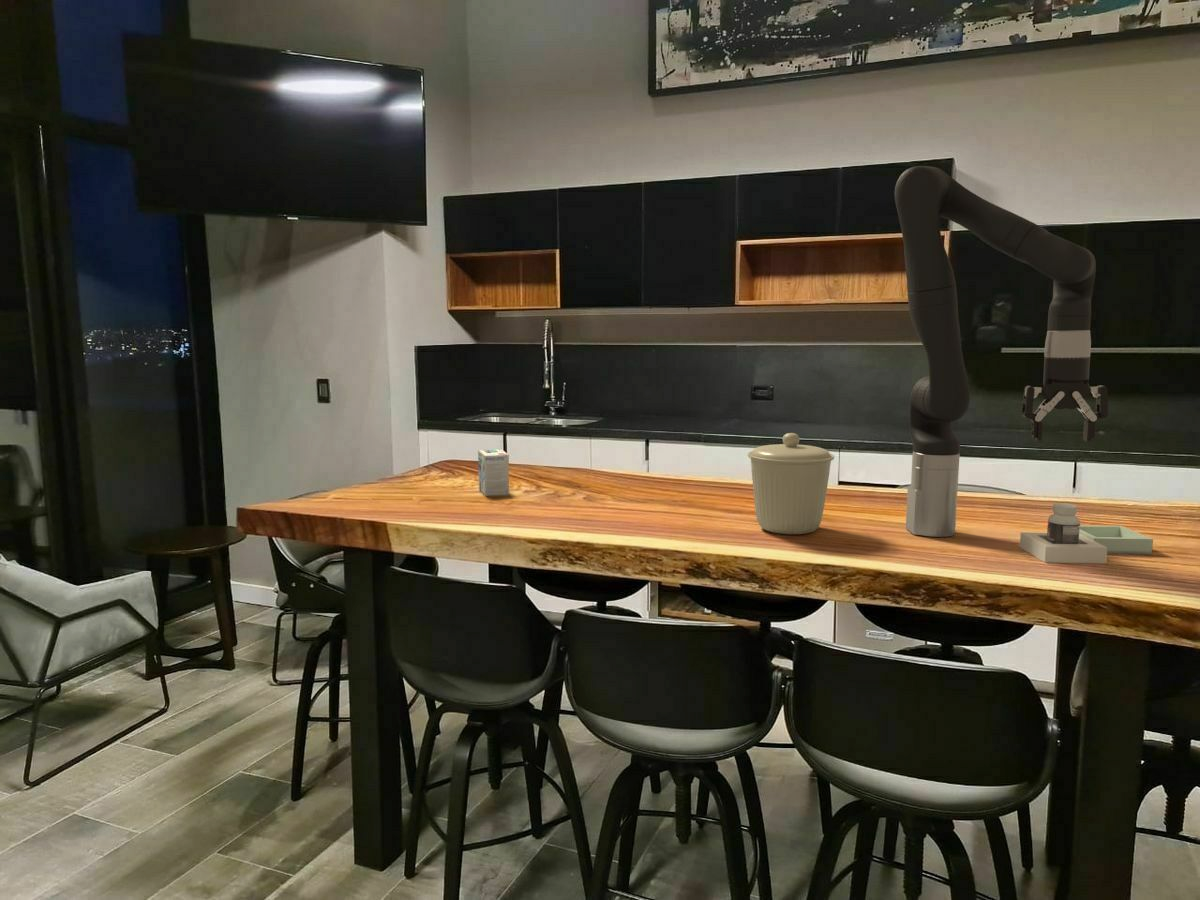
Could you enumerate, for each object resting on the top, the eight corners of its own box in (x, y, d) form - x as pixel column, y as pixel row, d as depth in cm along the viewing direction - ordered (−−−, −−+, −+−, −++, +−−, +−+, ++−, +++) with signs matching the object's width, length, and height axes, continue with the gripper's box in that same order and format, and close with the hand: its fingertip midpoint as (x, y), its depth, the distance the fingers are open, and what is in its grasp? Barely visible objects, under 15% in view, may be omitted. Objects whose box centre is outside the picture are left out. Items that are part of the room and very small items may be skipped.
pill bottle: (1039, 551, 165) (1043, 502, 163) (1065, 551, 165) (1069, 501, 164) (1056, 559, 159) (1060, 508, 158) (1083, 558, 160) (1087, 507, 159)
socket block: (1044, 562, 157) (1045, 546, 157) (1019, 547, 168) (1020, 532, 168) (1106, 563, 157) (1107, 547, 156) (1076, 548, 167) (1078, 533, 167)
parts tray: (1092, 553, 163) (1093, 538, 163) (1065, 539, 174) (1066, 525, 174) (1151, 554, 163) (1153, 539, 162) (1120, 540, 174) (1122, 525, 173)
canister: (730, 524, 189) (732, 430, 186) (800, 517, 195) (802, 426, 192) (775, 543, 172) (777, 440, 169) (849, 535, 178) (853, 436, 175)
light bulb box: (478, 489, 231) (477, 449, 229) (502, 487, 233) (501, 448, 231) (484, 496, 221) (483, 455, 219) (510, 494, 223) (509, 454, 221)
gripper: (1031, 356, 156) (1027, 443, 159) (1116, 355, 153) (1111, 443, 156) (1020, 354, 163) (1016, 438, 166) (1101, 353, 161) (1096, 438, 163)
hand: (1062, 440), depth 161 cm, fingers open, 8 cm apart
